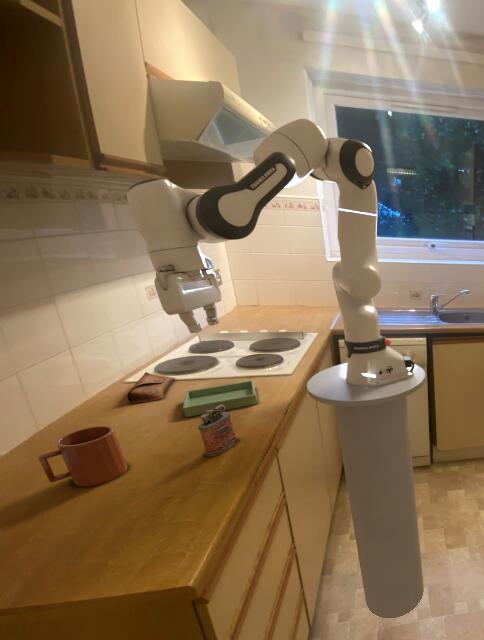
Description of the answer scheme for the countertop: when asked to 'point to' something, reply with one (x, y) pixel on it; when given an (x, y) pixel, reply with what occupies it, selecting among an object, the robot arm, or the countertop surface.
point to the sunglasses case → (149, 388)
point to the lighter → (217, 431)
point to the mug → (88, 456)
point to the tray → (219, 398)
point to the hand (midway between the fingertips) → (205, 328)
